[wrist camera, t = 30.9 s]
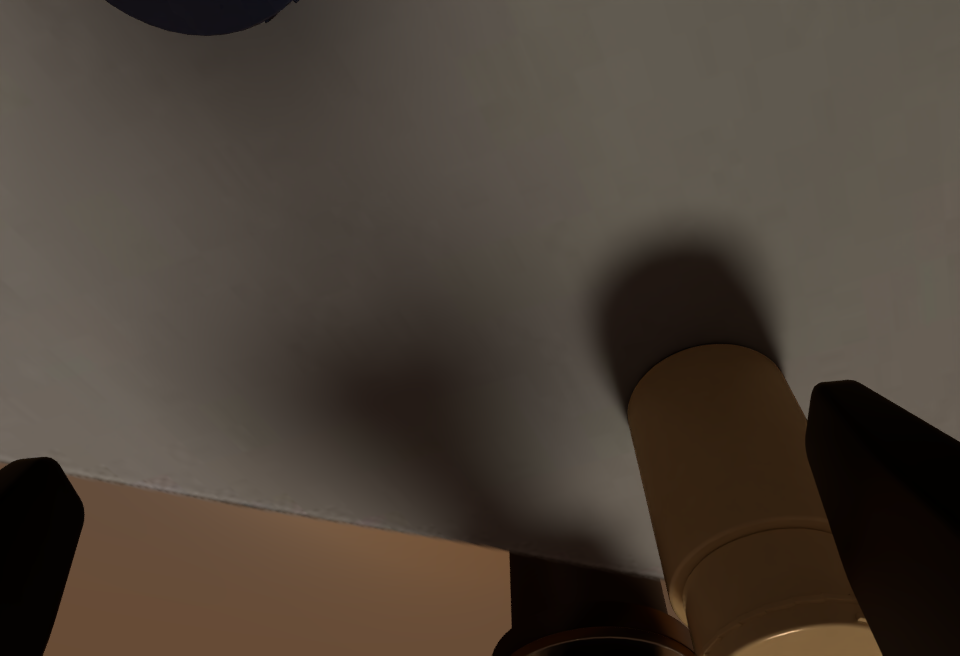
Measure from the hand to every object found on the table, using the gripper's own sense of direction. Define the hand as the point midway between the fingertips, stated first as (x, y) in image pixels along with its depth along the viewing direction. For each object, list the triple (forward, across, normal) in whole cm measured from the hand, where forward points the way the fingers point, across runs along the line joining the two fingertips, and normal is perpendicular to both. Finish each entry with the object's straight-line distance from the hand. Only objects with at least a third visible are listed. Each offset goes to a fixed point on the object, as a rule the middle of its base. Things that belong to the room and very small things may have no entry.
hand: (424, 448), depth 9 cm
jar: (+12, -7, +11) cm, 18 cm away
